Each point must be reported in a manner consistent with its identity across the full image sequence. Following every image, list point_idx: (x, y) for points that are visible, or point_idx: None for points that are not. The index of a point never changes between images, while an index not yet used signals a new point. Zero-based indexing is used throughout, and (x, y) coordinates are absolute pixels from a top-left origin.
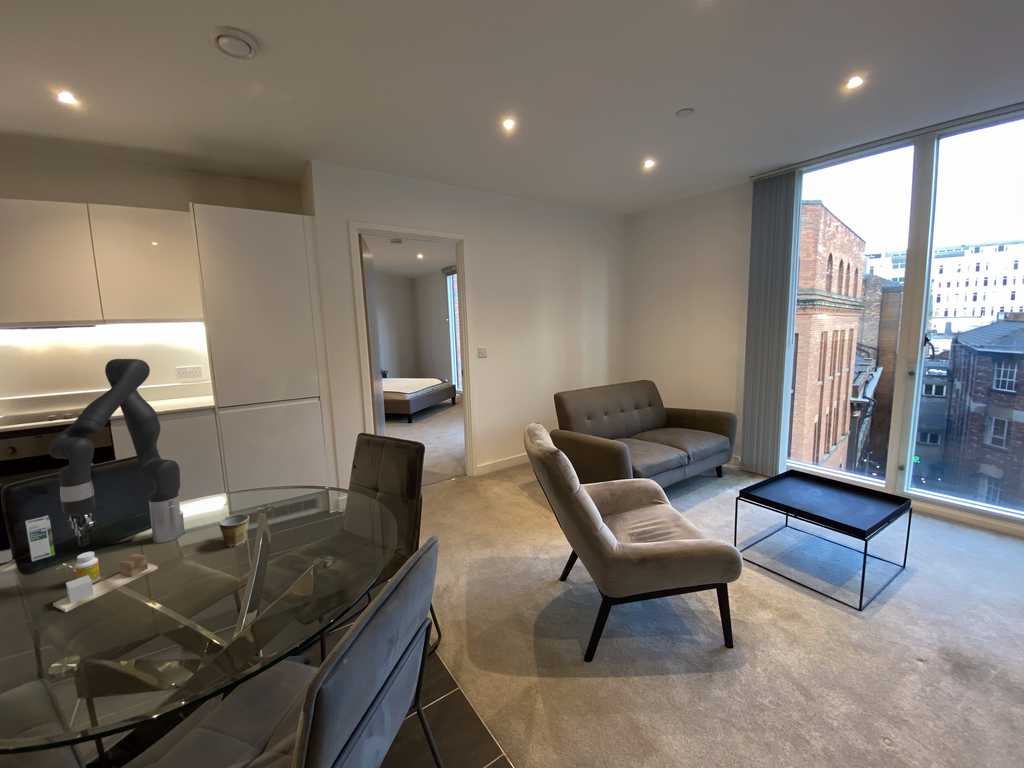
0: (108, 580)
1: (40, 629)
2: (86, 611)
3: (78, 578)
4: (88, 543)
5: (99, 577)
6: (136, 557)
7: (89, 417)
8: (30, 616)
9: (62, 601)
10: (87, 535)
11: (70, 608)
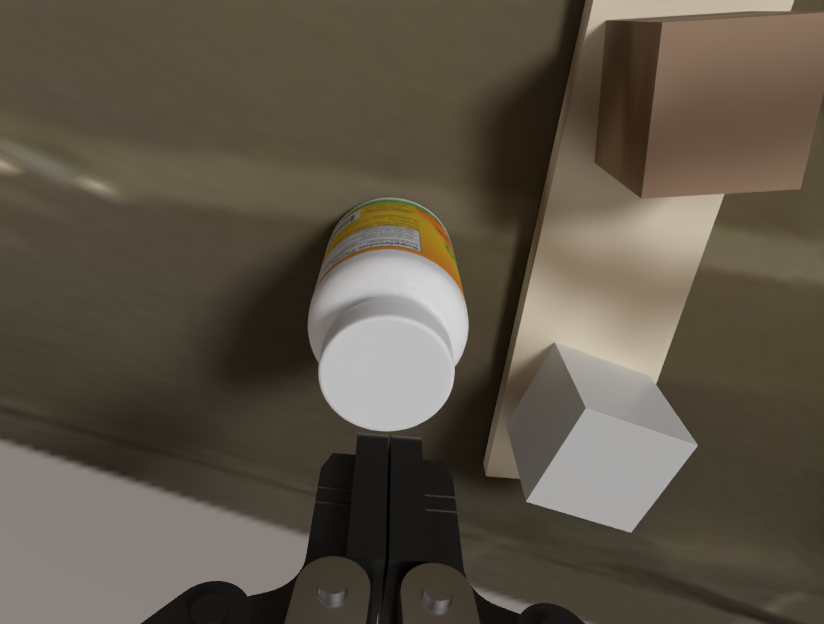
0: (572, 241)
1: (631, 561)
2: (723, 443)
3: (558, 453)
4: (417, 444)
5: (438, 221)
6: (757, 82)
7: None
8: (467, 529)
9: None
10: (464, 575)
11: None
